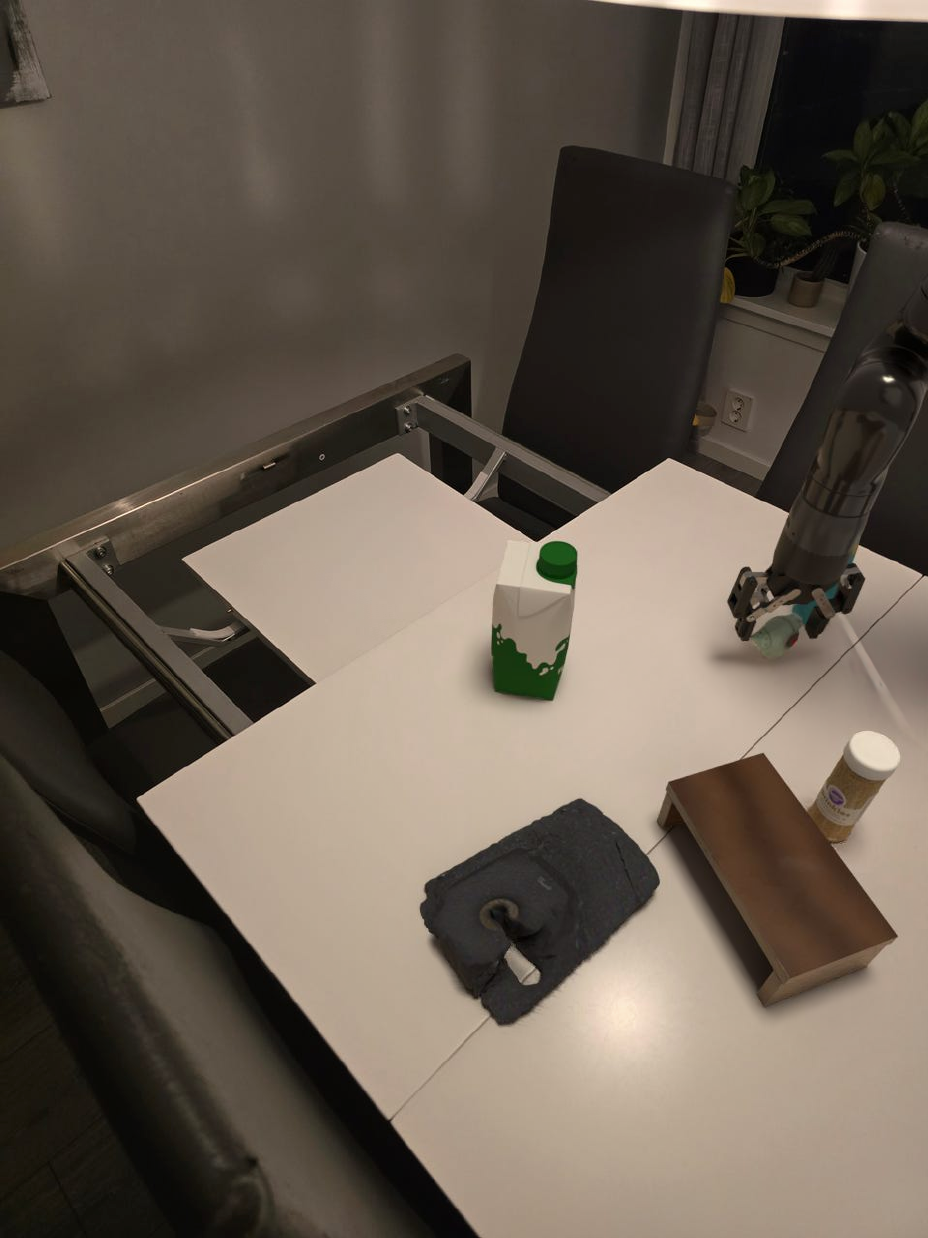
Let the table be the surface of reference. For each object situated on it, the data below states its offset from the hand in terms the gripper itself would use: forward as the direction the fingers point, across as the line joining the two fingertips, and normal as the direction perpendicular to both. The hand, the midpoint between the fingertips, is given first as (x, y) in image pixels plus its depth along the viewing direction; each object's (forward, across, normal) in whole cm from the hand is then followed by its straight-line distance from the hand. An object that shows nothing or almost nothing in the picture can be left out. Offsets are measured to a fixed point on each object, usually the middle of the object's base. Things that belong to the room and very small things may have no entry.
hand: (776, 635), depth 96 cm
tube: (+4, +9, +7) cm, 12 cm away
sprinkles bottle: (+4, -2, -23) cm, 24 cm away
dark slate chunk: (+5, -33, -30) cm, 44 cm away
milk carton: (+5, -30, -1) cm, 31 cm away
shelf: (+4, -12, -30) cm, 32 cm away
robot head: (+4, 0, 0) cm, 4 cm away
